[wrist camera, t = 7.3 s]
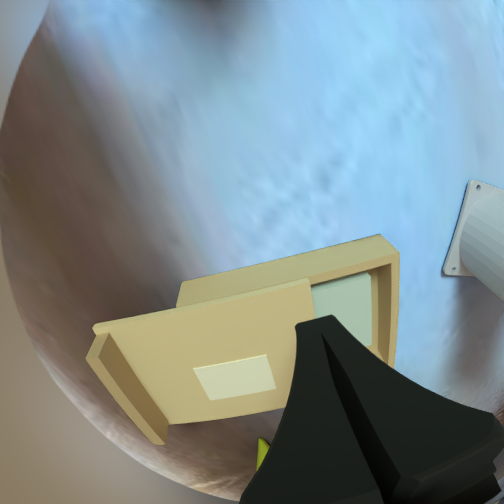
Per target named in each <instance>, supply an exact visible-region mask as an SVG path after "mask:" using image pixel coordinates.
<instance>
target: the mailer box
mask: <svg viewBox="0 0 504 504" xmlns="http://www.w3.org/2000/svg"><path fill="white" fill-rule="evenodd" d="M304 278H308V279H309V281H310V286H311V292H312V298H313V305H314V311H315V318H320V317H323V316H327V315H331V314H332V315H334V316H335V317H336V318H337V319H338V320H339V321H340V323H341V324H342V325H343V326H344V327H345V328H346V329H347V330H348V331H349V332H350V333H351V334H352V335H353V336H354V337H355V338H356V339H357V340H358V341H360V342H361V343H362V344H363V345H364V346H365V347H366V348H368V349H369V350H370V351H371V352H372V353H373V354H375V355H376V356H377V357H378V358H380V359H381V360H382V361H384V362H385V363H386V364H387V365H389V366H390V367H392V368H393V369H394V364H395V354H396V342H397V329H398V312H399V279H400V254H399V251H398V250H397V249H396V248H395V247H394V246H392V245H391V244H390V243H389V242H388V241H387V240H386V239H385V238H384V237H383V236H382V235H381V234H377V235H373V236H369V237H366V238H362V239H358V240H354V241H350V242H346V243H342V244H338V245H334V246H330V247H326V248H322V249H318V250H314V251H309V252H305V253H301V254H297V255H293V256H289V257H285V258H281V259H277V260H273V261H269V262H264V263H260V264H256V265H252V266H248V267H244V268H239V269H235V270H231V271H227V272H223V273H218V274H214V275H210V276H206V277H202V278H197V279H193V280H189V281H184V282H182V284H181V288H180V292H179V296H178V300H177V304H176V308H178V307H183V306H188V305H192V304H197V303H202V302H206V301H211V300H215V299H220V298H224V297H229V296H233V295H237V294H242V293H246V292H250V291H254V290H259V289H263V288H267V287H271V286H275V285H280V284H284V283H288V282H292V281H296V280H300V279H304Z"/></svg>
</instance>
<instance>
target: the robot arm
mask: <svg viewBox="0 0 504 504" xmlns="http://www.w3.org/2000/svg"><path fill="white" fill-rule="evenodd" d="M477 185H478V187H477ZM476 187H477V189H476ZM452 268H453V269H452ZM443 272H444V273H445V274H446V275H455V276H473V277H476V278H478V279H479V280H480V281H481V282H482V283H483V284H484V285H486V286H487V287H488V288H489V289H490V290H491V291H492V292H493V293H494V294H495V295H497V296H498V297H499V298H500V299H501V300H502V301H503V302H504V190H502V189H499V188H497V187H494V186H491V185H488V184H486V183H483V182H480V181H477V180H474V179H471V180H470V181H469V182H468V185H467V189H466V193H465V198H464V201H463V205H462V209H461V213H460V216H459V220H458V223H457V227H456V230H455V233H454V236H453V240H452V243H451V246H450V249H449V252H448V255H447V258H446V261H445V264H444V266H443ZM295 331H296V358H295V367H294V373H293V378H292V383H291V388H290V392H289V396H288V400H287V404H286V407H285V410H284V413H283V416H282V419H281V421H280V424H279V427H278V429H277V432H276V434H275V437H274V439H273V441H272V443H271V445H270V447H269V449H268V451H267V453H266V455H265V457H264V459H263V461H262V463H261V465H260V467H259V468H258V470H257V472H256V473H255V475H254V477H253V478H252V480H251V481H250V483H249V484H248V486H247V487H246V489H245V490H244V492H243V494H242V495H241V498H240V502H239V504H495V503H496V502H498V501H499V500H500V501H499V502H498V504H504V478H502V479H501V480H499V481H498V482H497V480H496V478H495V476H494V474H493V473H494V472H495V471H496V467H495V465H494V463H493V460H494V459H495V458H496V457H497V456H498V454H499V453H500V452H501V451H502V449H503V448H504V428H503V426H502V425H501V423H500V422H499V421H498V420H497V419H496V417H495V416H494V415H493V413H489V412H486V411H482V410H478V409H475V408H471V407H468V406H465V405H462V404H460V403H457V402H454V401H452V400H449V399H447V398H445V397H443V396H441V395H438V394H436V393H434V392H432V391H430V390H428V389H426V388H424V387H422V386H420V385H419V384H417V383H415V382H413V381H412V380H410V379H408V378H407V377H405V376H404V375H402V374H400V373H399V372H397V371H396V370H394V369H393V368H392V367H390V366H389V365H387V364H386V363H385V362H384V361H382V360H381V359H380V358H378V357H377V356H376V355H375V354H373V353H372V352H371V351H370V350H369V349H368V348H366V347H365V346H364V345H363V344H362V343H361V342H360V341H358V340H357V339H356V338H355V337H354V336H353V335H352V334H351V333H350V332H349V331H348V330H347V329H346V328H345V327H344V326H343V325H342V324H341V323H340V321H339V320H338V319H337V318H336V317H335V316H334V315H332V314H331V315H327V316H323V317H320V318H316V319H312V320H308V321H304V322H300V323H297V324H296V325H295Z"/></svg>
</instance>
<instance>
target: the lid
mask: <svg viewBox="0 0 504 504" xmlns="http://www.w3.org/2000/svg"><path fill="white" fill-rule="evenodd" d="M312 319H316V318H315V311H314V305H313V298H312V292H311V286H310V281H309V279H308V278H304V279H300V280H296V281H292V282H288V283H284V284H280V285H275V286H271V287H267V288H263V289H259V290H254V291H250V292H246V293H242V294H237V295H233V296H229V297H224V298H220V299H215V300H211V301H206V302H202V303H197V304H192V305H188V306H183V307H178V308H174V309H169V310H164V311H159V312H154V313H149V314H145V315H140V316H135V317H129V318H124V319H119V320H114V321H109V322H103V323H98V324H95V325H94V327H93V330H94V332H95V334H96V335H97V336H96V338H95V340H94V342H93V344H92V346H91V348H90V350H89V352H88V354H87V356H86V360H87V362H88V363H89V364H90V366H91V367H92V369H93V370H94V372H95V373H96V374H97V376H98V377H99V379H100V380H101V381H102V383H103V384H104V385H105V387H106V388H107V389H108V391H109V392H110V393H111V394H112V396H113V397H114V398H115V400H116V401H117V402H118V403H119V405H120V406H121V407H122V408H123V410H124V411H125V412H126V413H127V414H128V416H129V417H130V418H131V419H132V420H133V421H134V423H135V424H136V425H137V426H138V427H139V428H140V430H141V431H142V432H143V433H144V434H145V435H146V436H147V437H148V438H149V440H150V441H151V442H152V443H153V444H154V445H162V444H166V437H167V429H168V424H180V423H190V422H199V421H208V420H215V419H223V418H229V417H236V416H242V415H248V414H254V413H259V412H264V411H270V410H275V409H279V408H284V407H286V404H287V400H288V396H289V392H290V388H291V383H292V378H293V373H294V367H295V358H296V331H295V325H296V324H297V323H300V322H304V321H308V320H312Z"/></svg>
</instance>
